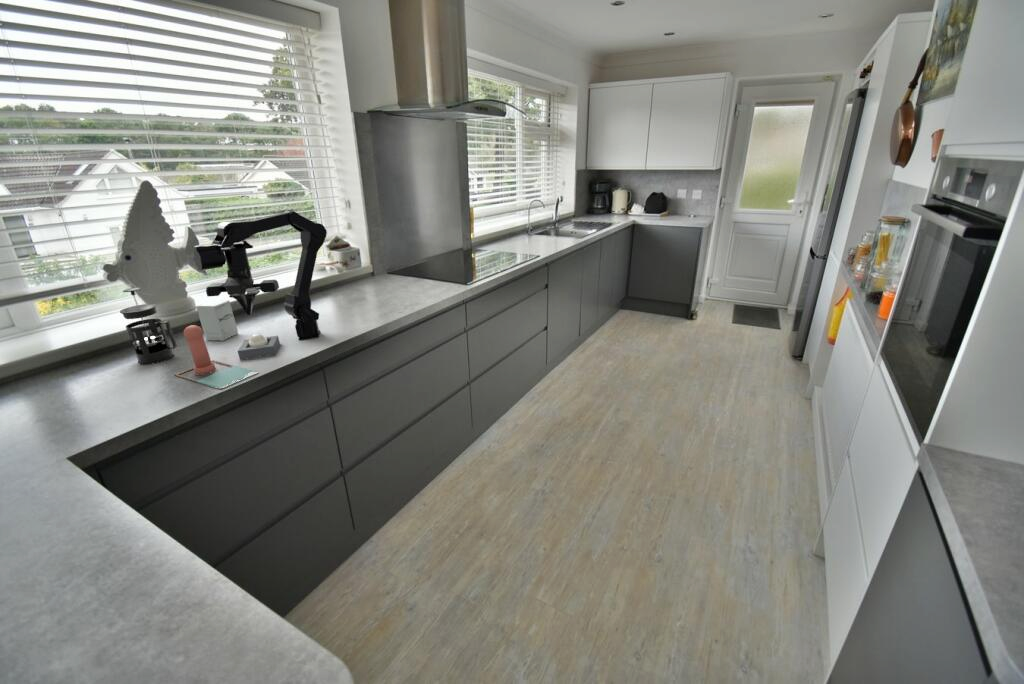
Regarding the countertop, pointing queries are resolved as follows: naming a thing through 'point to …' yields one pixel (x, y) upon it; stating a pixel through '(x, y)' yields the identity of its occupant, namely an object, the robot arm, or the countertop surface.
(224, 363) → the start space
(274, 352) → the box
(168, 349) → the french press
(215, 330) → the supplement box
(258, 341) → the cream white ball
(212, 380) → the tile
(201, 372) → the pawn
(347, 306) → the countertop surface
